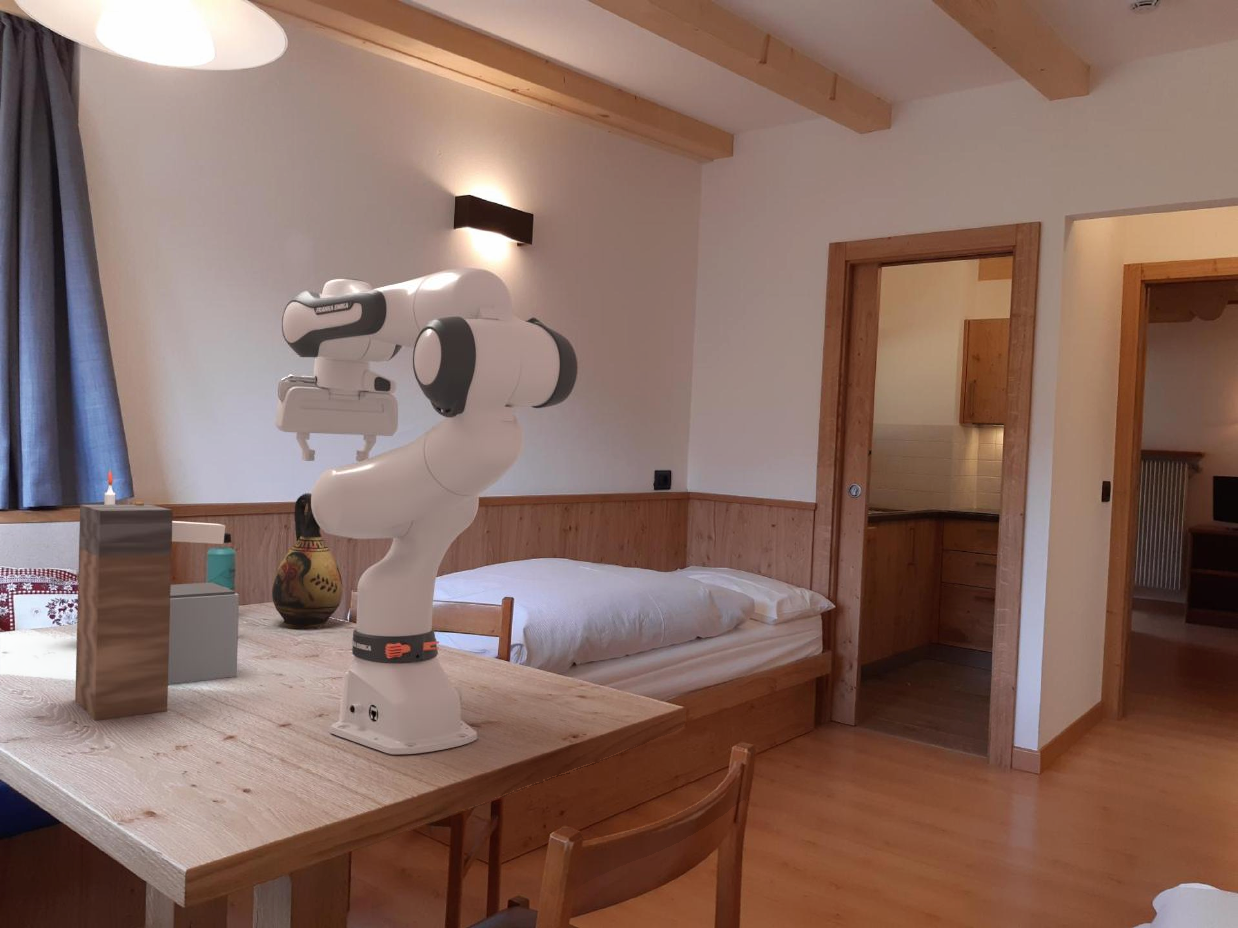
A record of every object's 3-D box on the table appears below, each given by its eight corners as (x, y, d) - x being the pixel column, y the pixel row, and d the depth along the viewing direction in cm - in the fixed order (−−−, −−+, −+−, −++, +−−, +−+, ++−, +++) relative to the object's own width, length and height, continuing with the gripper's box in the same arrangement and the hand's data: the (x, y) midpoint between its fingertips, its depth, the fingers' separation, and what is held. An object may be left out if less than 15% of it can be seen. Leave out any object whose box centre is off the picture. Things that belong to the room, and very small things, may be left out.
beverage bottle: (202, 621, 225) (204, 534, 225) (206, 616, 232) (208, 531, 231) (232, 621, 227) (235, 534, 227) (235, 616, 233) (238, 531, 233)
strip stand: (167, 710, 152) (172, 507, 151) (94, 720, 145) (100, 508, 145) (143, 691, 162) (148, 501, 162) (75, 699, 156) (80, 502, 156)
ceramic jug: (355, 626, 226) (359, 495, 225) (293, 634, 214) (297, 496, 214) (315, 616, 237) (318, 491, 237) (254, 623, 226) (258, 492, 225)
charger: (223, 543, 161) (225, 525, 161) (113, 538, 151) (115, 518, 151) (216, 541, 164) (218, 523, 164) (107, 536, 154) (110, 516, 154)
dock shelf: (236, 676, 175) (239, 591, 175) (138, 687, 165) (141, 597, 165) (211, 661, 186) (214, 581, 186) (118, 671, 176) (120, 587, 175)
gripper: (286, 374, 155) (280, 462, 156) (405, 383, 168) (399, 464, 169) (272, 372, 160) (266, 457, 161) (388, 381, 173) (382, 459, 174)
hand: (335, 460), depth 165 cm, fingers open, 8 cm apart
